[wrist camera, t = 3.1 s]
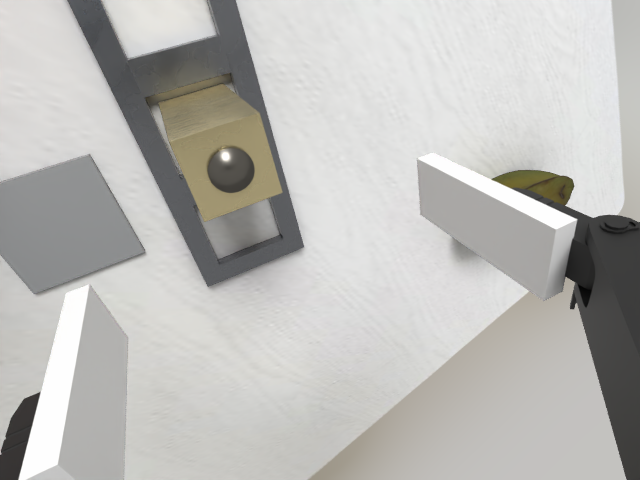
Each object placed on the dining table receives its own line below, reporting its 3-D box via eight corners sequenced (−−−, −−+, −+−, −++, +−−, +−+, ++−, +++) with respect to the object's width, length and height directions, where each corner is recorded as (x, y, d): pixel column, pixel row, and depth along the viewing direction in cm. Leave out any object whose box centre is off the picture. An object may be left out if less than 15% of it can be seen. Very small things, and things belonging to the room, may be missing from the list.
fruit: (487, 141, 43) (536, 159, 38) (546, 169, 49) (595, 188, 44) (438, 231, 47) (477, 259, 42) (499, 247, 53) (539, 273, 48)
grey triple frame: (206, 280, 38) (208, 286, 37) (25, -90, 22) (21, -94, 21) (300, 242, 40) (304, 247, 39) (198, -121, 24) (200, -125, 23)
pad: (35, 291, 32) (33, 294, 31) (-46, 196, 27) (-48, 198, 26) (144, 249, 34) (144, 252, 33) (89, 153, 29) (89, 155, 28)
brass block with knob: (184, 163, 32) (205, 224, 23) (158, 102, 29) (169, 143, 20) (242, 144, 33) (284, 194, 24) (222, 83, 30) (260, 113, 21)
